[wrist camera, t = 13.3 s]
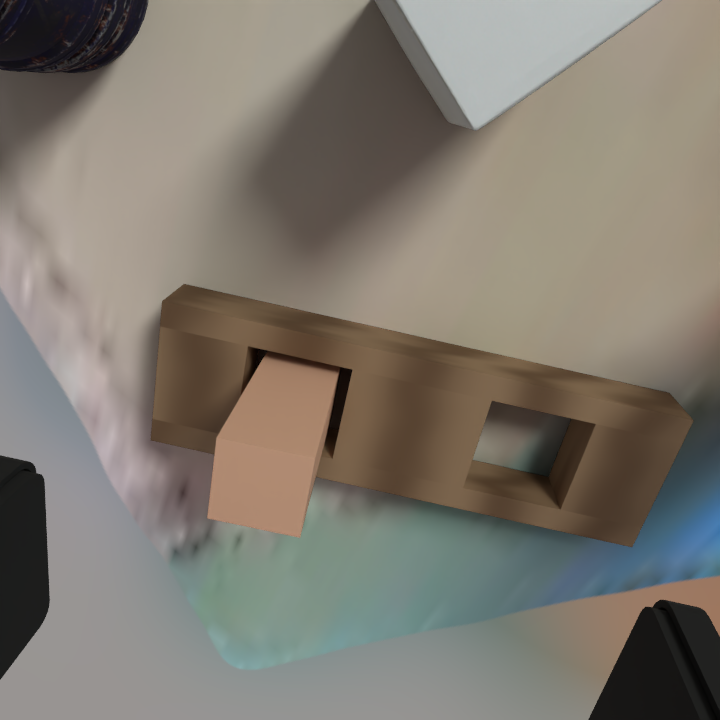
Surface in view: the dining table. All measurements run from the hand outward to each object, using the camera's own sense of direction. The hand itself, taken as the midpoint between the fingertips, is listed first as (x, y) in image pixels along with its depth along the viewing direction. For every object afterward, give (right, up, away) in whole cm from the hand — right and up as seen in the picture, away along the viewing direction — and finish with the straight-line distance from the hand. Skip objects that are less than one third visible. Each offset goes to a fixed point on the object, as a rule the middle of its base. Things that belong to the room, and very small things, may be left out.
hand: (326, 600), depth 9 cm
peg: (-3, +3, +29) cm, 29 cm away
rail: (+4, +1, +29) cm, 29 cm away
